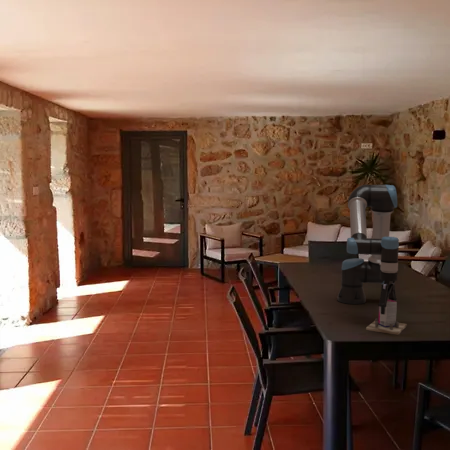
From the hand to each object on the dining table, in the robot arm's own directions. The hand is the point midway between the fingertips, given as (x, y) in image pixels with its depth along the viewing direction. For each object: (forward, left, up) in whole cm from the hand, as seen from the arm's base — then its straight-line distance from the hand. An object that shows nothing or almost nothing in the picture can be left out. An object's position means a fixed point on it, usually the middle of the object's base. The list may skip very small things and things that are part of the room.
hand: (387, 317), depth 243 cm
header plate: (0, 0, -5) cm, 5 cm away
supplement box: (0, 0, -4) cm, 4 cm away
